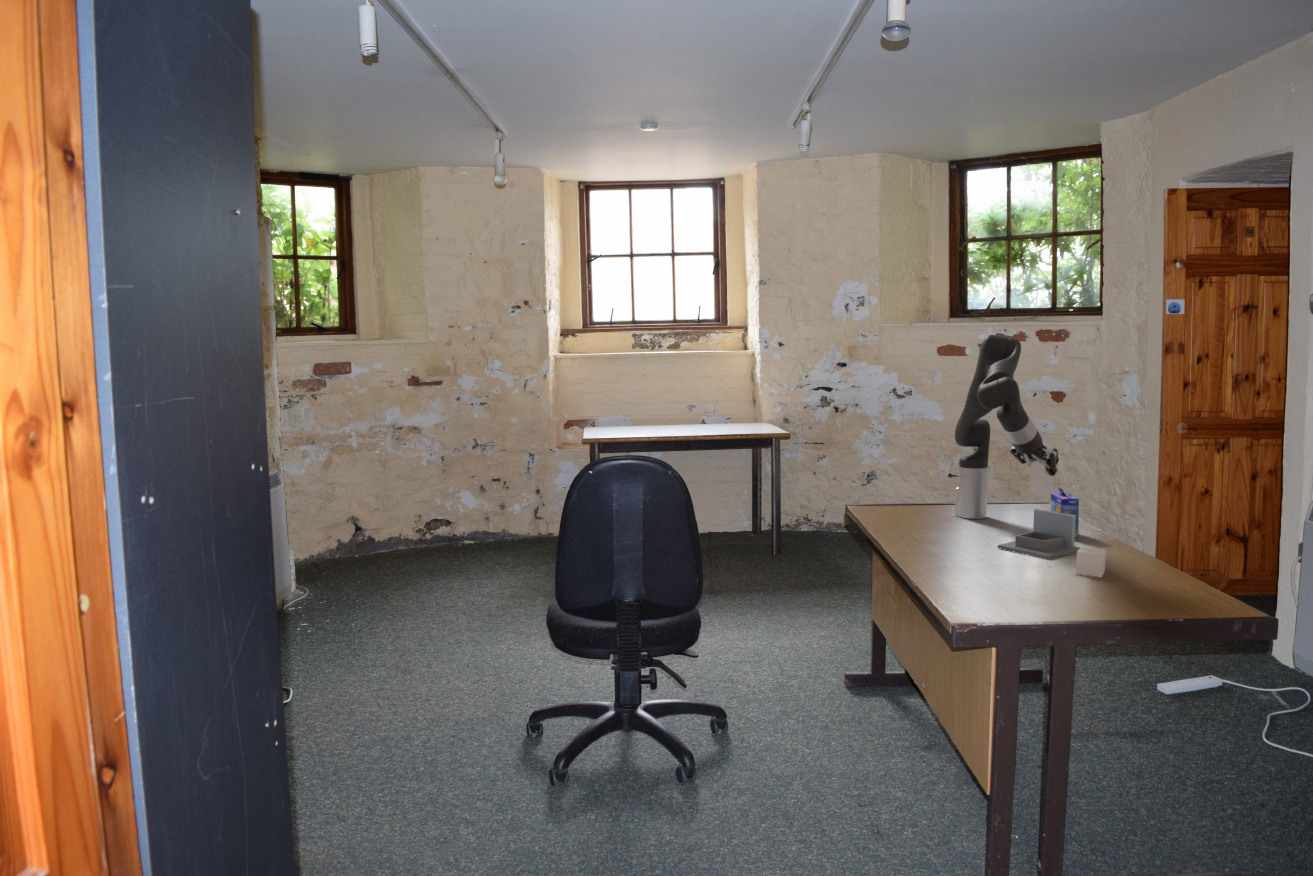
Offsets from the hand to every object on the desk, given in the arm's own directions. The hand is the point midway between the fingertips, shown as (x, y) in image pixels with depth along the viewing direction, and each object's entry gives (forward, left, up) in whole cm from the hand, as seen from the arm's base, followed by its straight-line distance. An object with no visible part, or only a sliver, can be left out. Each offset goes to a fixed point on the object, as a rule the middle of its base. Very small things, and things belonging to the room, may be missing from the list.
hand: (1045, 472), depth 249 cm
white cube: (+22, -14, -23) cm, 35 cm away
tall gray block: (0, -2, -6) cm, 6 cm away
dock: (0, -2, -22) cm, 22 cm away
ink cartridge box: (-7, +22, -23) cm, 32 cm away
